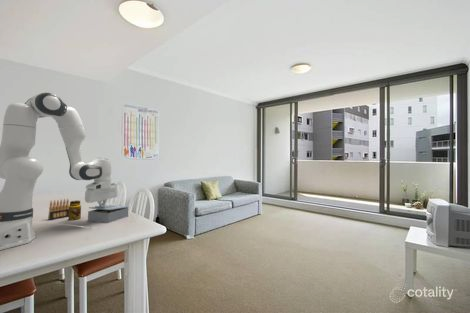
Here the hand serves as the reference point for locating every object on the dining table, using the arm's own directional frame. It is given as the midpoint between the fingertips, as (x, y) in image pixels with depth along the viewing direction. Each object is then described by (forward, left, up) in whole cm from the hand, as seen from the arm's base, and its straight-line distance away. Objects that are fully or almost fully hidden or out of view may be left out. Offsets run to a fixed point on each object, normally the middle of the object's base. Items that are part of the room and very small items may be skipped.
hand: (102, 207), depth 131 cm
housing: (+5, 0, -9) cm, 10 cm away
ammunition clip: (-2, +32, -9) cm, 33 cm away
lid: (+6, 0, -1) cm, 6 cm away
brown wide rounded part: (+2, 0, -8) cm, 8 cm away
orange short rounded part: (+9, 0, -8) cm, 12 cm away
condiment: (-3, +19, -9) cm, 21 cm away
